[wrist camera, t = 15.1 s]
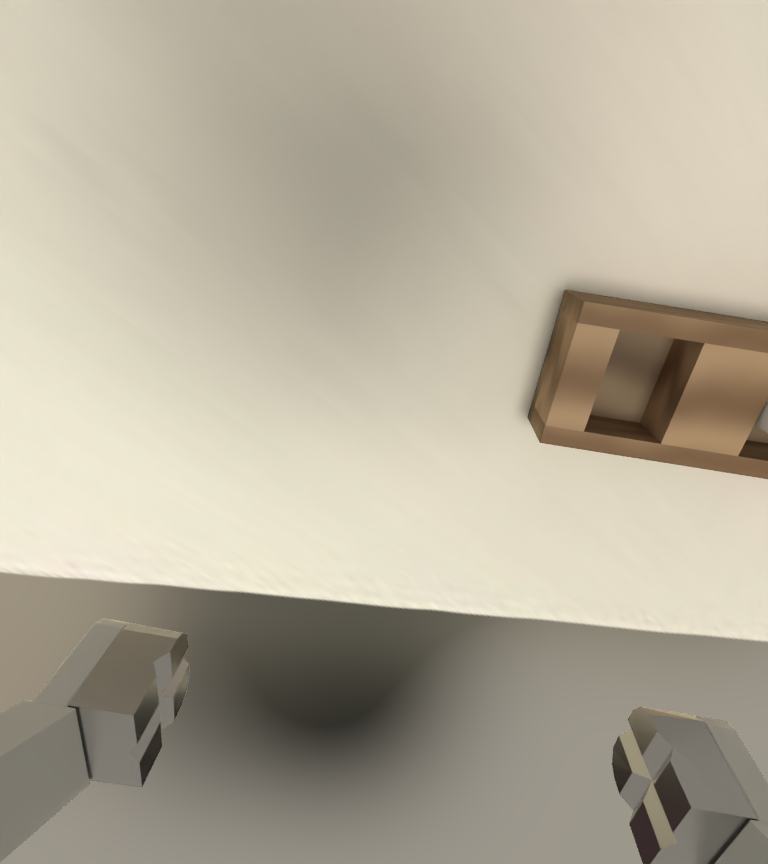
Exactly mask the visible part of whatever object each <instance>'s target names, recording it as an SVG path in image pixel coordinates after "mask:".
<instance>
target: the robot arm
mask: <svg viewBox="0 0 768 864" xmlns="http://www.w3.org/2000/svg"><path fill="white" fill-rule="evenodd" d="M188 647H189V646H188V635H187V634H185V633H180V632H175V631H170V630H164V629H159V628H154V627H148V626H144V625H139V624H134V623H127V622H122V621H117V620H110V619H105V618H102V619H101V620H99V621H98V622H96V623H95V624H94V625H92V627H91V628H90V629H89V630H88V632H87V633H86V634H85V635H84V637H83V638H82V639H81V641H80V642H79V643H78V644H77V646H76V647H75V648H74V649H73V650H72V652H71V653H70V654H69V656H68V657H67V658H66V659H65V661H64V662H63V663H62V664H61V666H60V667H59V668H58V669H57V671H56V672H55V673H54V675H53V676H52V677H51V678H50V680H49V681H48V682H47V683H46V685H45V686H44V687H43V689H42V690H41V691H40V692H39V693H38V695H37V696H36V697H35V699H34V700H33V701H29V700H22V701H20V702H19V703H17V704H15V705H14V706H12V707H10V708H8V709H7V710H5V711H3V712H1V713H0V862H1V861H2V860H3V859H5V858H6V857H7V856H8V855H9V854H10V853H11V852H12V851H13V850H15V849H16V848H17V847H18V846H19V845H21V844H22V843H23V842H24V841H25V840H26V839H27V838H29V837H30V836H31V835H32V834H33V833H34V832H36V831H37V830H38V829H39V828H40V827H41V826H42V825H43V824H45V823H46V822H47V821H48V820H49V819H50V818H52V817H53V816H54V815H55V814H56V813H57V812H58V811H60V810H61V809H62V808H63V807H64V806H65V805H67V804H68V803H69V802H70V801H71V800H72V799H73V798H75V797H76V796H77V795H78V794H79V793H80V792H81V791H83V790H84V789H85V788H86V787H87V786H88V785H89V784H90V781H89V780H91V781H98V782H105V783H113V784H120V785H128V786H135V787H143V785H144V783H145V780H146V778H147V776H148V774H149V772H150V770H151V768H152V766H153V764H154V762H155V760H156V758H157V756H158V754H159V752H160V750H161V747H162V737H161V730H162V729H164V728H165V727H167V726H168V725H169V724H170V723H172V722H173V721H174V720H175V719H176V716H177V714H178V712H179V710H180V708H181V706H182V703H183V700H184V697H185V694H186V690H187V687H188V680H189V664H188V662H187V661H186V660H185V659H184V658H183V657H184V655H185V653H186V651H187V649H188ZM628 721H629V724H630V726H631V729H630V730H628V731H626V732H624V733H622V734H621V735H619V736H618V738H617V741H616V743H615V745H614V747H613V758H612V766H613V772H614V778H615V781H616V785H617V788H618V791H619V794H620V795H621V796H622V798H623V799H624V800H625V801H626V802H627V803H628V804H629V806H630V807H631V808H632V809H633V813H632V816H631V820H630V827H631V830H632V833H633V836H634V839H635V842H636V845H637V848H638V851H639V854H640V857H641V860H642V863H643V864H768V783H767V782H766V780H765V778H764V777H763V775H762V773H761V772H760V770H759V768H758V767H757V765H756V763H755V762H754V760H753V758H752V757H751V755H750V753H749V752H748V750H747V748H746V747H745V745H744V743H743V742H742V740H741V738H740V737H739V735H738V733H737V732H736V730H735V729H734V728H733V727H732V726H731V725H730V724H729V723H728V722H727V721H723V720H718V719H711V718H705V717H699V716H693V715H690V714H683V713H677V712H671V711H663V710H657V709H650V708H643V707H639V708H637V709H635V710H633V711H632V713H631V715H630V716H629V718H628Z"/></svg>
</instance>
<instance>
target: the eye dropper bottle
mask: <svg viewBox="0 0 768 864" xmlns="http://www.w3.org/2000/svg"><path fill="white" fill-rule="evenodd" d="M754 425H756V426H757V427H759V428H760V429H762V430H763V431H765V432H766V433H768V399H767V401H766V403H765V405H764V407H763V409H762V411H761V413H760V415H759V417H758V419H757V420H756V422H755V424H754Z"/></svg>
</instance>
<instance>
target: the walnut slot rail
mask: <svg viewBox="0 0 768 864" xmlns="http://www.w3.org/2000/svg"><path fill="white" fill-rule="evenodd" d="M767 399H768V322H764V321H758V320H752V319H745V318H739V317H733V316H727V315H720V314H714V313H708V312H701V311H695V310H689V309H682V308H676V307H670V306H664V305H657V304H651V303H645V302H638V301H632V300H626V299H619V298H613V297H607V296H600V295H594V294H588V293H582V292H575V291H569V290H565V292H564V296H563V299H562V303H561V306H560V309H559V313H558V316H557V320H556V323H555V326H554V330H553V333H552V337H551V340H550V343H549V347H548V350H547V354H546V357H545V360H544V364H543V367H542V371H541V374H540V377H539V381H538V384H537V387H536V391H535V394H534V398H533V401H532V404H531V408H530V411H529V415H528V419H529V421H530V423H531V425H532V427H533V429H534V431H535V433H536V435H537V437H538V440H539V442H540V443H545V444H552V445H558V446H564V447H570V448H577V449H583V450H589V451H595V452H602V453H608V454H614V455H620V456H627V457H633V458H639V459H645V460H652V461H658V462H664V463H670V464H677V465H683V466H689V467H695V468H702V469H708V470H714V471H720V472H727V473H733V474H739V475H745V476H752V477H758V478H764V479H768V433H766V432H765V431H763V430H762V429H760V428H759V427H757V426H756V425H754V424H755V422H756V420H757V419H758V417H759V415H760V413H761V411H762V409H763V407H764V405H765V403H766V401H767Z"/></svg>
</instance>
